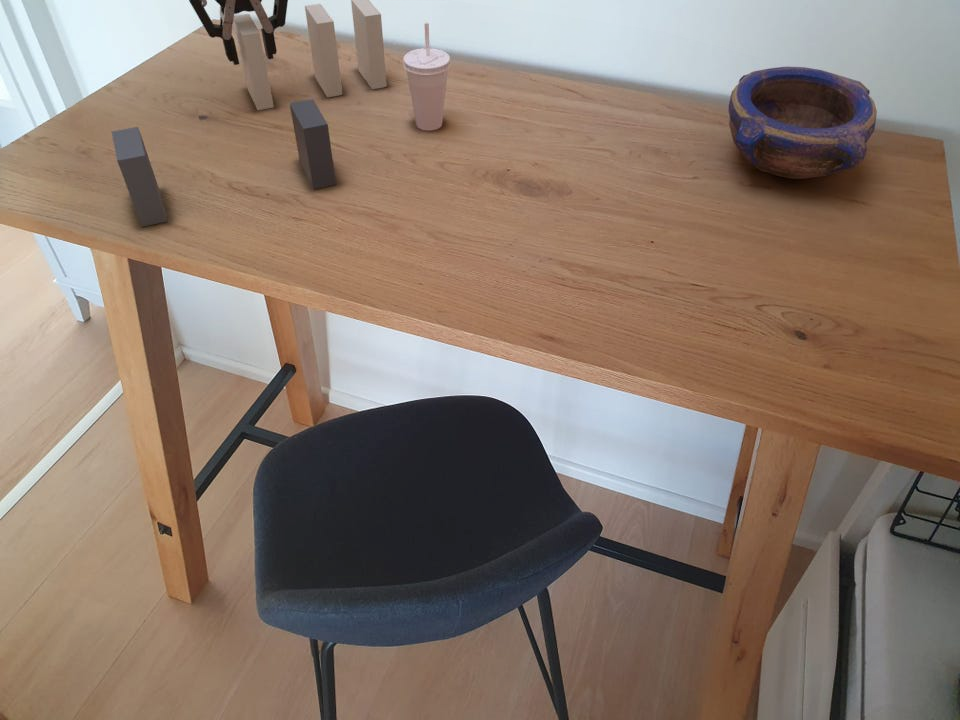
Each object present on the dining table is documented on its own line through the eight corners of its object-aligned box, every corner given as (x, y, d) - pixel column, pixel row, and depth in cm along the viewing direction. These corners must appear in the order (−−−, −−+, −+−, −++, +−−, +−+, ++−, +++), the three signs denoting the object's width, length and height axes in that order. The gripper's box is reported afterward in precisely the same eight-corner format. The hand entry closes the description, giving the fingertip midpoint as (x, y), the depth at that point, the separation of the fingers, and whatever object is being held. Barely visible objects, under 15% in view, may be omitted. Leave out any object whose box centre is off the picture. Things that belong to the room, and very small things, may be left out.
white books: (327, 97, 115) (317, 23, 107) (315, 78, 119) (304, 5, 112) (386, 86, 118) (381, 13, 110) (372, 68, 122) (366, -4, 114)
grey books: (141, 227, 92) (117, 160, 85) (135, 196, 96) (111, 131, 90) (336, 184, 98) (327, 120, 92) (321, 158, 103) (312, 94, 96)
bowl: (706, 184, 99) (724, 113, 92) (725, 121, 111) (742, 53, 104) (851, 213, 95) (882, 140, 88) (855, 144, 107) (882, 75, 100)
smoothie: (456, 116, 111) (455, 18, 101) (444, 137, 107) (442, 37, 97) (414, 111, 112) (408, 13, 102) (401, 132, 108) (394, 32, 98)
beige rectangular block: (257, 110, 112) (242, 35, 104) (247, 90, 116) (232, 16, 109) (274, 107, 113) (259, 32, 105) (263, 87, 117) (249, 13, 109)
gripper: (274, -86, 103) (295, 42, 115) (164, -74, 99) (197, 57, 111) (287, -69, 98) (307, 62, 110) (172, -56, 94) (206, 79, 106)
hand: (252, 59), depth 110 cm, fingers open, 4 cm apart
